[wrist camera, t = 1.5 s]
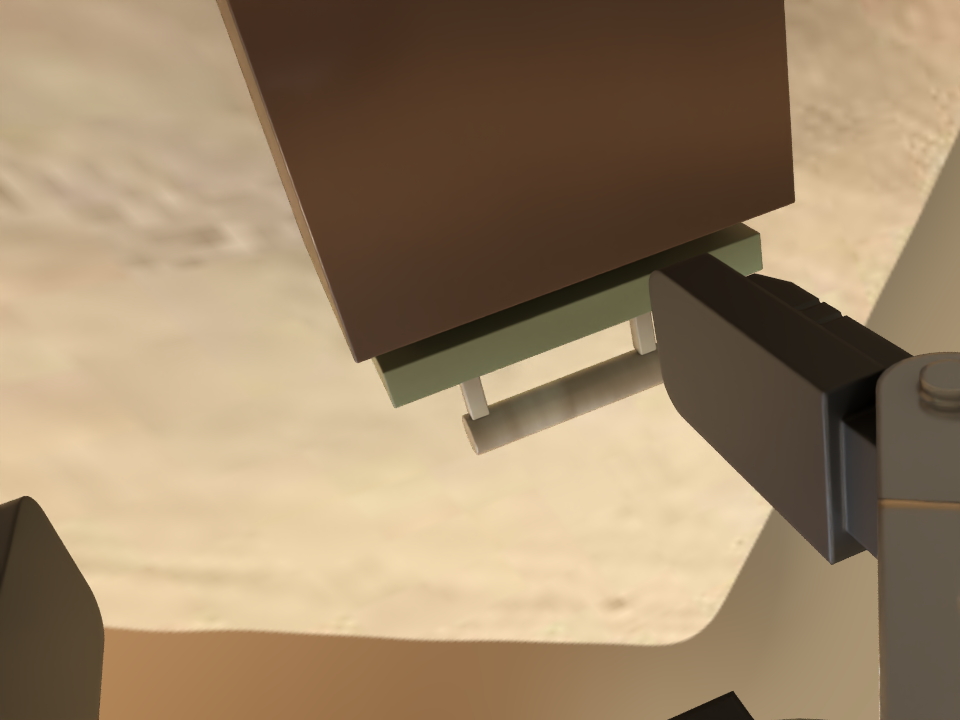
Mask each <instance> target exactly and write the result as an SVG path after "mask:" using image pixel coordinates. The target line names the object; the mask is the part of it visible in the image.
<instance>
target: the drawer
mask: <svg viewBox="0 0 960 720" xmlns="http://www.w3.org/2000/svg"><path fill="white" fill-rule="evenodd" d="M702 253H709V254H711V255H713V256H714V257H716V258H717V259H719V260H720V261H722V262H724V263H725V264H727V265H728V266H730V267H731V268H733V269H734V270H736V271H738V272H739V273H741V274H742V275H744V276H747V275H749V274H752V273H755V272H757V271H760V270H762V269H763V265H762V252H761V240H760V233H759V232H757V231H755V230H754V229H752V228H750V227H748V226H747V225H745V224H743V223H741V222H740V223H738V224H735V225H732V226H730V227H727V228H724V229H721V230H719V231H716V232H713V233H711V234H708V235H705V236H702V237H700V238H697V239H694V240H692V241H689V242H686V243H683V244H681V245H678V246H675V247H672V248H670V249H667V250H664V251H662V252H659V253H656V254H653V255H651V256H648V257H645V258H643V259H640V260H637V261H634V262H632V263H629V264H626V265H624V266H621V267H618V268H615V269H613V270H610V271H607V272H604V273H602V274H599V275H596V276H594V277H591V278H588V279H585V280H583V281H580V282H577V283H575V284H572V285H569V286H566V287H564V288H561V289H558V290H555V291H553V292H550V293H547V294H545V295H542V296H539V297H536V298H534V299H531V300H528V301H526V302H523V303H520V304H517V305H515V306H512V307H509V308H507V309H504V310H501V311H498V312H496V313H493V314H490V315H487V316H485V317H482V318H479V319H477V320H474V321H471V322H468V323H466V324H463V325H460V326H458V327H455V328H452V329H449V330H447V331H444V332H441V333H439V334H436V335H433V336H430V337H428V338H425V339H422V340H419V341H417V342H414V343H411V344H409V345H406V346H403V347H400V348H398V349H395V350H392V351H390V352H387V353H384V354H381V355H379V356H376V357H373V358H371V359H372V361H373V363H374V365H375V367H376V369H377V372H378V374H379V376H380V378H381V380H382V382H383V385H384V387H385V389H386V391H387V393H388V395H389V397H390V400H391V402H392V404H393V406H394V407H395V408H397V407H400V406H403V405H405V404H408V403H411V402H413V401H416V400H419V399H421V398H424V397H426V396H429V395H432V394H434V393H437V392H440V391H442V390H445V389H448V388H450V387H453V386H456V385H458V384H460V387H461V391H462V394H463V397H464V401H465V404H466V408H467V411H468V414H465V415H463V416H462V421H463V425H464V428H465V431H466V434H467V437H468V439H469V442H470V444H471V446H472V448H473V450H474V452H475V453H476V455H481V454H483V453H486V452H488V451H491V450H494V449H496V448H499V447H501V446H504V445H506V444H509V443H511V442H514V441H517V440H519V439H522V438H524V437H527V436H529V435H532V434H534V433H537V432H540V431H542V430H545V429H547V428H550V427H552V426H555V425H557V424H560V423H563V422H565V421H568V420H570V419H573V418H575V417H578V416H580V415H583V414H585V413H588V412H591V411H593V410H596V409H598V408H601V407H603V406H606V405H608V404H611V403H614V402H616V401H619V400H621V399H624V398H626V397H629V396H631V395H634V394H637V393H639V392H642V391H644V390H647V389H649V388H652V387H654V386H657V385H660V384H662V383H664V381H663V378H662V373H661V367H660V360H659V354H658V347H657V343H656V342H655V336H654V329H653V323H652V316H651V311H652V307H651V301H650V294H649V278H650V275H651V273H652V272H653V271H655V270H657V269H660V268H663V267H666V266H668V265H671V264H674V263H677V262H679V261H682V260H685V259H688V258H691V257H693V256H696V255H699V254H702ZM628 320H629V321H630V327H631V333H632V339H633V345H634V348H635V350H632V351H630V352H627V353H624V354H622V355H619V356H617V357H614V358H611V359H609V360H606V361H603V362H601V363H598V364H596V365H593V366H590V367H588V368H585V369H583V370H580V371H577V372H575V373H572V374H570V375H567V376H564V377H562V378H559V379H557V380H554V381H551V382H549V383H546V384H544V385H541V386H538V387H536V388H533V389H531V390H528V391H525V392H523V393H520V394H517V395H515V396H512V397H510V398H507V399H504V400H502V401H499V402H497V403H494V404H491V405H489V406H487V402H486V398H485V395H484V391H483V387H482V384H481V380H480V377H479V376H482V375H485V374H487V373H490V372H493V371H495V370H498V369H501V368H503V367H506V366H509V365H511V364H514V363H516V362H519V361H522V360H524V359H527V358H530V357H532V356H535V355H538V354H540V353H543V352H546V351H548V350H551V349H553V348H556V347H559V346H561V345H564V344H567V343H569V342H572V341H575V340H577V339H580V338H583V337H585V336H588V335H591V334H593V333H596V332H598V331H601V330H604V329H606V328H609V327H612V326H614V325H617V324H620V323H622V322H625V321H628Z"/></svg>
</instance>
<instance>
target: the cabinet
mask: <svg viewBox="0 0 960 720" xmlns="http://www.w3.org/2000/svg"><path fill="white" fill-rule="evenodd" d="M216 1H217V4H218V7H219V9H220V12H221V15H222V18H223V20H224V23H225V26H226V29H227V31H228V34H229V37H230V40H231V42H232V45H233V48H234V51H235V53H236V56H237V59H238V62H239V64H240V67H241V70H242V73H243V75H244V78H245V81H246V84H247V87H248V89H249V92H250V95H251V98H252V100H253V103H254V106H255V109H256V111H257V114H258V117H259V120H260V122H261V125H262V128H263V131H264V133H265V136H266V139H267V142H268V144H269V147H270V150H271V153H272V155H273V158H274V161H275V164H276V166H277V169H278V172H279V175H280V177H281V180H282V183H283V186H284V188H285V191H286V194H287V197H288V199H289V202H290V205H291V208H292V210H293V213H294V216H295V219H296V221H297V224H298V227H299V230H300V232H301V235H302V238H303V241H304V243H305V246H306V248H307V250H308V253H309V255H310V257H311V260H312V262H313V264H314V267H315V269H316V271H317V274H318V276H319V278H320V281H321V283H322V285H323V288H324V290H325V292H326V295H327V297H328V299H329V302H330V304H331V306H332V309H333V311H334V313H335V316H336V318H337V320H338V323H339V325H340V327H341V330H342V332H343V334H344V337H345V339H346V341H347V344H348V346H349V348H350V351H351V353H352V356H353V358H354V360H355V362H356V363H360V362H362V361H365V360H368V359H370V358H373V357H376V356H379V355H381V354H384V353H387V352H390V351H392V350H395V349H398V348H400V347H403V346H406V345H409V344H411V343H414V342H417V341H419V340H422V339H425V338H428V337H430V336H433V335H436V334H439V333H441V332H444V331H447V330H449V329H452V328H455V327H458V326H460V325H463V324H466V323H468V322H471V321H474V320H477V319H479V318H482V317H485V316H487V315H490V314H493V313H496V312H498V311H501V310H504V309H507V308H509V307H512V306H515V305H517V304H520V303H523V302H526V301H528V300H531V299H534V298H536V297H539V296H542V295H545V294H547V293H550V292H553V291H555V290H558V289H561V288H564V287H566V286H569V285H572V284H575V283H577V282H580V281H583V280H585V279H588V278H591V277H594V276H596V275H599V274H602V273H604V272H607V271H610V270H613V269H615V268H618V267H621V266H624V265H626V264H629V263H632V262H634V261H637V260H640V259H643V258H645V257H648V256H651V255H653V254H656V253H659V252H662V251H664V250H667V249H670V248H672V247H675V246H678V245H681V244H683V243H686V242H689V241H692V240H694V239H697V238H700V237H702V236H705V235H708V234H711V233H713V232H716V231H719V230H721V229H724V228H727V227H730V226H732V225H735V224H738V223H740V222H743V221H746V220H749V219H751V218H754V217H757V216H760V215H762V214H765V213H768V212H770V211H773V210H776V209H779V208H781V207H784V206H787V205H789V204H792V203H794V202H795V192H794V174H793V156H792V138H791V120H790V102H789V84H788V66H787V48H786V30H785V12H784V0H216Z"/></svg>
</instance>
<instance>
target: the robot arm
mask: <svg viewBox="0 0 960 720" xmlns="http://www.w3.org/2000/svg"><path fill="white" fill-rule="evenodd" d="M649 294H650V301H651V307H652V314H653V321H654V327H655V334H656V340H657V347H658V354H659V360H660V367H661V373H662V378H663V381H664V385H665V388H666V390H667V393H668V395H669V397H670V399H671V401H672V403H673V405H674V406H675V408H676V410H677V411H678V412H679V414H680V415H681V416H682V417H683V418H684V419H685V420H686V421H687V422H688V423H689V424H690V425H691V426H692V427H693V428H694V429H695V430H696V431H697V432H698V433H699V434H700V435H701V436H702V437H703V438H704V439H705V440H706V441H707V442H708V443H709V444H710V445H711V446H712V447H713V448H714V449H715V450H716V451H717V452H718V453H719V454H720V455H721V456H722V457H723V458H724V459H725V460H726V461H727V462H728V463H729V464H730V465H731V466H732V467H733V468H734V469H735V470H736V471H737V472H738V473H739V474H740V475H741V476H742V477H743V478H744V479H745V480H746V481H747V482H748V483H749V484H750V485H751V486H752V487H753V488H754V489H755V490H756V491H757V492H758V493H760V494H761V495H762V496H763V497H764V498H765V499H766V500H767V501H768V502H769V503H770V504H771V505H772V506H773V507H774V508H775V509H776V510H777V511H778V512H779V513H780V514H781V515H782V516H783V517H784V518H785V519H786V520H787V521H788V522H789V523H790V524H791V525H792V526H793V527H794V528H795V529H796V530H797V531H798V532H799V533H800V534H801V535H802V536H803V537H804V538H805V539H806V540H807V541H808V542H809V543H810V544H811V545H812V546H813V547H814V548H815V549H816V550H817V551H818V552H819V553H820V554H821V555H822V556H823V557H824V558H825V559H826V560H827V561H828V562H829V563H830V564H831V565H833V564H835V563H837V562H840V561H842V560H844V559H846V558H849V557H851V556H854V555H856V554H858V553H860V552H863V551H865V550H868V551H869V552H870V553H871V554H872V555H873V556H874V557H875V558H876V559H878V611H879V612H878V614H879V615H878V617H879V692H880V693H879V696H880V720H960V353H959V352H937V353H928V354H922V355H917V356H912V355H911V354H909V353H907V352H906V351H904V350H903V349H901V348H899V347H898V346H896V345H894V344H893V343H891V342H889V341H888V340H886V339H885V338H883V337H881V336H880V335H878V334H876V333H875V332H873V331H871V330H870V329H868V328H866V327H865V326H863V325H861V324H860V323H858V322H856V321H855V320H853V319H852V318H850V317H848V316H847V315H846V316H844V317H843V316H842V315H841V312H840V311H838V310H837V309H835V308H833V307H832V306H830V305H828V304H827V303H825V302H822V303H820V301H819V298H817V297H815V296H814V295H812V294H810V293H809V292H807V291H805V290H804V289H802V288H800V287H799V286H797V285H795V284H794V283H792V282H788V281H784V280H780V279H776V278H772V277H768V276H764V275H759V274H755V273H754V274H751V275H749V276H746V277H745V276H744V275H742V274H741V273H739V272H738V271H736V270H734V269H733V268H731V267H730V266H728V265H727V264H725V263H724V262H722V261H720V260H719V259H717V258H716V257H714V256H713V255H711V254H709V253H702V254H699V255H696V256H693V257H691V258H688V259H685V260H682V261H679V262H677V263H674V264H671V265H668V266H666V267H663V268H660V269H657V270H655V271H653V272H652V273H651V275H650V278H649ZM103 652H104V628H103V622H102V617H101V614H100V610H99V607H98V604H97V602H96V599H95V597H94V595H93V592H92V591H91V589H90V587H89V585H88V584H87V582H86V580H85V579H84V577H83V575H82V574H81V572H80V570H79V569H78V567H77V565H76V564H75V562H74V561H73V559H72V557H71V556H70V554H69V552H68V551H67V549H66V547H65V546H64V544H63V542H62V541H61V539H60V537H59V536H58V534H57V533H56V531H55V529H54V528H53V526H52V524H51V523H50V521H49V519H48V518H47V516H46V514H45V513H44V511H43V510H42V508H41V507H40V506H39V504H38V503H37V502H36V501H35V500H34V499H32V498H31V497H29V496H23V497H21V498H18V499H15V500H12V501H10V502H7V503H4V504H1V505H0V720H99V707H100V693H101V679H102V665H103ZM668 720H754V719H753V718H752V716H751V715H750V714H749V712H748V711H747V710H746V708H745V707H744V705H743V704H742V702H741V701H740V700H739V698H738V697H737V696H736V694H735V693H734V691H731V692H729V693H727V694H725V695H722V696H720V697H718V698H716V699H713V700H711V701H709V702H707V703H705V704H702V705H700V706H698V707H695V708H693V709H691V710H689V711H687V712H685V713H682V714H680V715H678V716H675V717H673V718H671V719H668ZM784 720H820V719H784Z"/></svg>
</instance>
